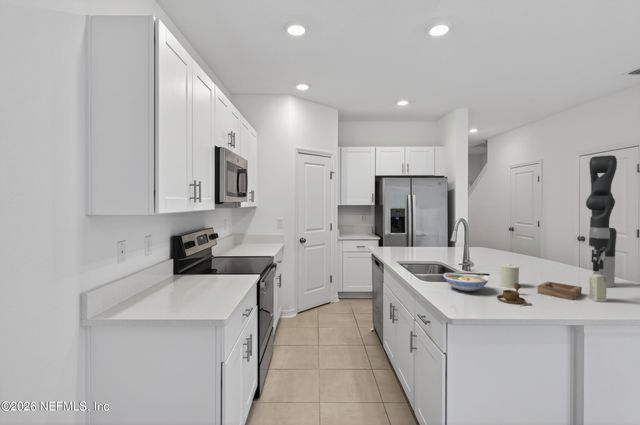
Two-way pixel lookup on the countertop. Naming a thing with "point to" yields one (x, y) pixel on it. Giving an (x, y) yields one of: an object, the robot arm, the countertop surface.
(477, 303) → the countertop surface
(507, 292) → the place setting
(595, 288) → the skincare box
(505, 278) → the can
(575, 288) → the socket block
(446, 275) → the ramen bowl
